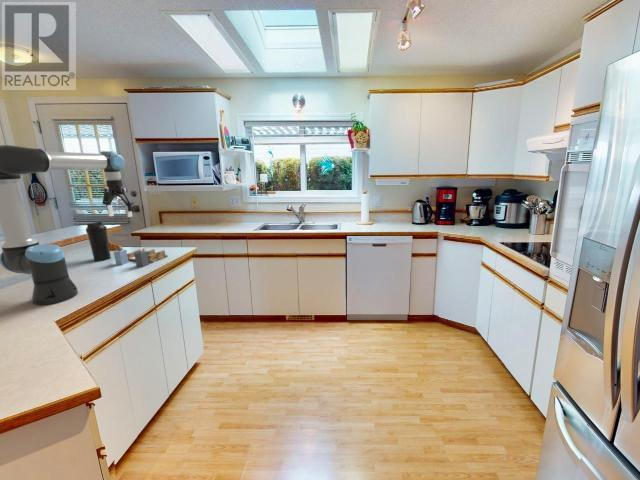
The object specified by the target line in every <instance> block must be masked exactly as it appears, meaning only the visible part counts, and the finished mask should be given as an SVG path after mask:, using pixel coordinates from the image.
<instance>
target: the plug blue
mask: <svg viewBox="0 0 640 480" xmlns="http://www.w3.org/2000/svg"><path fill="white" fill-rule="evenodd" d="M127 254H128V251H127V249H122V247H121V246H119V247H117V250H114V251H113V255H114V260H115V261H114V262H115V265H118V266H124V265H126V264H129V262H130V261H128V256H127Z"/></svg>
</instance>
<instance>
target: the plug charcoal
mask: <svg viewBox="0 0 640 480" xmlns="http://www.w3.org/2000/svg"><path fill="white" fill-rule="evenodd" d="M142 249H143V248H138V250H139V252H136V253H134V255H135V260H136V261H135V264H136V265H135V266H136V267H138V268H144V267H147V266H149V265H150V263H149V260H148V254H147V251H148V250H146V251H142Z"/></svg>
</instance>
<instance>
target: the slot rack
mask: <svg viewBox="0 0 640 480" xmlns="http://www.w3.org/2000/svg"><path fill="white" fill-rule="evenodd" d="M141 249H142V251H145V248H141ZM155 250H156V249H151V250H150V249H149V250H146V251H147V254H148V260H149V264H153V263H156V262H159V261H162V260H163V259H165V258H168V257H169V255H168V254H166V251H165V250H164V249H162V250H160V251H155ZM136 252H139V249H138V250H135V251H132V252H129V253H128V252H127V256H128V261H129V262H136V260H135V255H134V253H136Z"/></svg>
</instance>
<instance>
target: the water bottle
mask: <svg viewBox="0 0 640 480" xmlns="http://www.w3.org/2000/svg"><path fill="white" fill-rule="evenodd" d="M103 223H104V222H103V221H95V222H93V223H87V224H86V225H87V227H86V229H85V232H86V234H87V238H88V241H89V244H90V249H91V253H92V258H93V261H94V262H103V261H107V260H111V258H112V256H111V249H110V245H109V239H108V237H109V236H108V231H107V230H108V228H107V226H106V225H105V224H103Z"/></svg>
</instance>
